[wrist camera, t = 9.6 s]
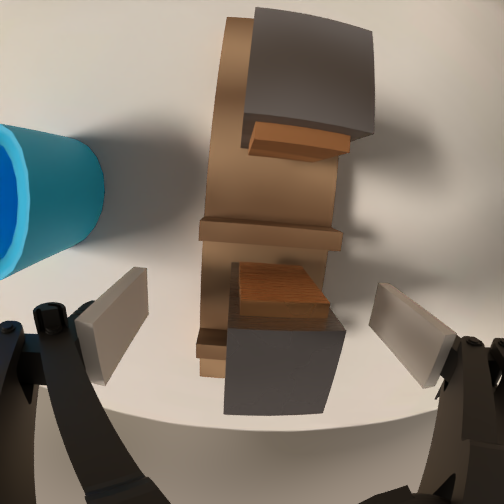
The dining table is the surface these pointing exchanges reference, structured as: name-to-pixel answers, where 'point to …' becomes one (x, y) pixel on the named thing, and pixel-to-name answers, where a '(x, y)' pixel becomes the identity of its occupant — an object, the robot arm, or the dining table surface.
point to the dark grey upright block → (278, 342)
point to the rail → (278, 152)
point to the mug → (44, 195)
